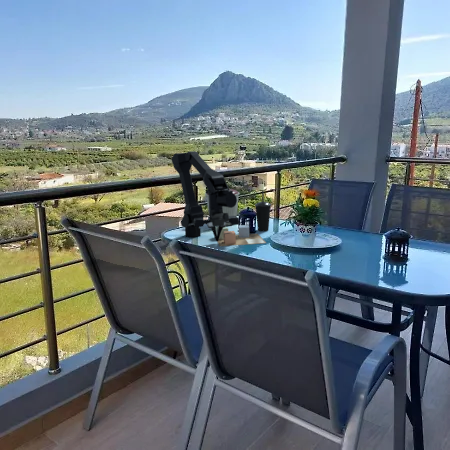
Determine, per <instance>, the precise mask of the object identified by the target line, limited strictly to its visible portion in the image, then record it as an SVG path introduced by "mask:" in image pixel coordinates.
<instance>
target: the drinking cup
mask: <svg viewBox="0 0 450 450" xmlns="http://www.w3.org/2000/svg"><path fill="white" fill-rule="evenodd" d="M264 193H265V192H264V190H262V191H261V201H259V202H257V203H255V204H254V206H255V214H256V223H257V224H256V225H257V231H258V232H268V231H269V228H270V216H271V207H272V203H269V202H268V201H265V196H264Z"/></svg>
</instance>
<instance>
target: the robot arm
mask: <svg viewBox="0 0 450 450" xmlns="http://www.w3.org/2000/svg"><path fill="white" fill-rule="evenodd" d="M171 163H172V166H173V169H174V170H175V171H176V172H177V173H178V176H179V179H180V186H181V188H182V195H183V198H184V202H185V205H184V210H183V217H182V218H181V220H180V225H181V227H183V228H184V233H185V236H184V237H185V238H189V239H192V238H193V239H194V238H195V239H196V238H199V237H201V233H202V232H201V228H202V227H204V225H207V228H208V229H211V231H212V232H213V233H212V234H213V235H214V239H215V242H217V241H218V240H219V237H220V233H221V231H222V229H223V228H224V227H227V226H226V225H225V224H226V223H231V224H232V225H231V226H235V225H238V226H239V225H240V218H239V217H238V215H237V216H229V214H228V213H223V206H224V207H229V208H232V207H234V206H235V205H236V202H237V198H236V196H235V195H234V194H233V191H232V190H229V189H230V188H229V185H228V184H227V181H226V179H225V177H224V175H223V174H222V173H221V172H218V171H216V170H214V169H212V168H211V166H209V165H208V163H207V162H206V161H205V159H203V158H202V157H201V156H200V154H199V152H198V151H195V150H193V151H192V150H191V151H186V152H178V153H174V154H173V156H172V157H171ZM192 166H193V167H194V169H195V170H196V171H197V172H198V173H199V174H200V176H202V179H203V180H202V181H203V184H204V185H205V187H206V188H207V190H206V191H205V193H206V194H209V211H208V215H209V216H208V217H209V218H207V219H204V217H205V216H204V214H205V213H204V210H203V206H202V205H199V204H198V202H197V199H196V194H195V189H194V185H193V180H192V175H191V169H192ZM222 187H223V188H222ZM205 193H204V194H205ZM216 227H217V234H216Z"/></svg>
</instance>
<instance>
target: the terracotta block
mask: <svg viewBox="0 0 450 450" xmlns="http://www.w3.org/2000/svg"><path fill="white" fill-rule="evenodd" d="M236 235H237V234H236V232H235V230H228V231H224V243H225V244H236Z"/></svg>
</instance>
